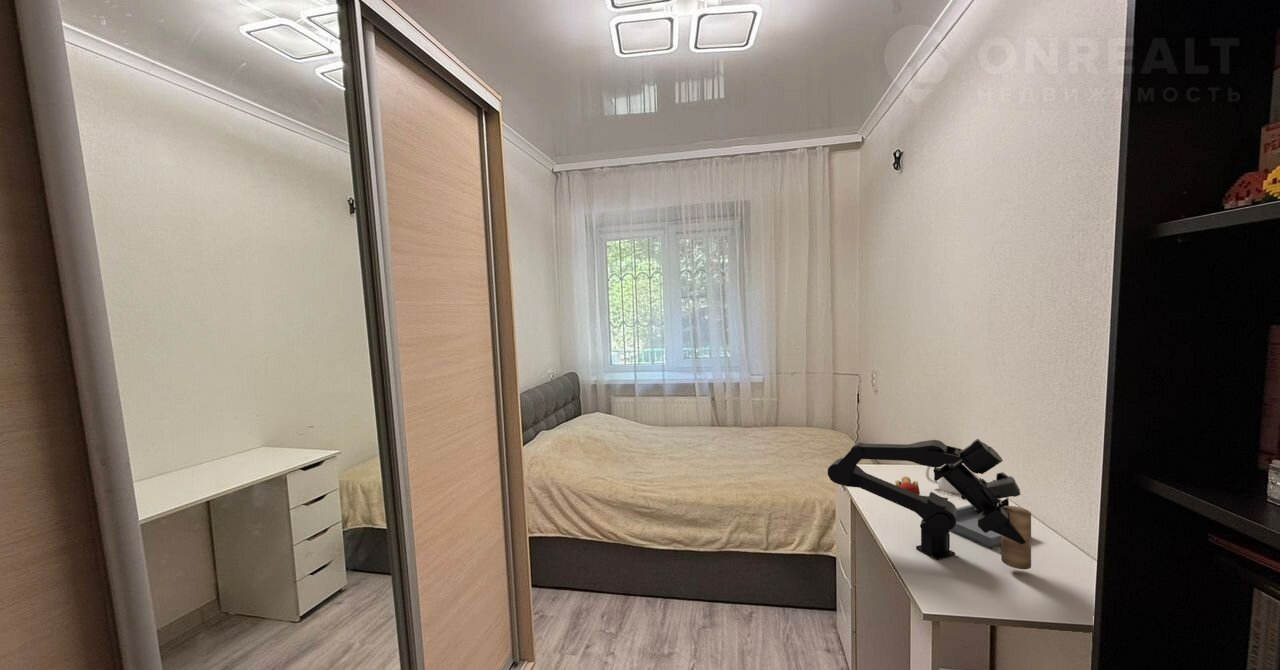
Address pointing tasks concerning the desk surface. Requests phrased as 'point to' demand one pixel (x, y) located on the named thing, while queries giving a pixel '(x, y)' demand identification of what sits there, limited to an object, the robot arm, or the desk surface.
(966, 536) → the tray
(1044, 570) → the desk surface
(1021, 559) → the wooden cylinder
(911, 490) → the kendama
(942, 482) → the cup
